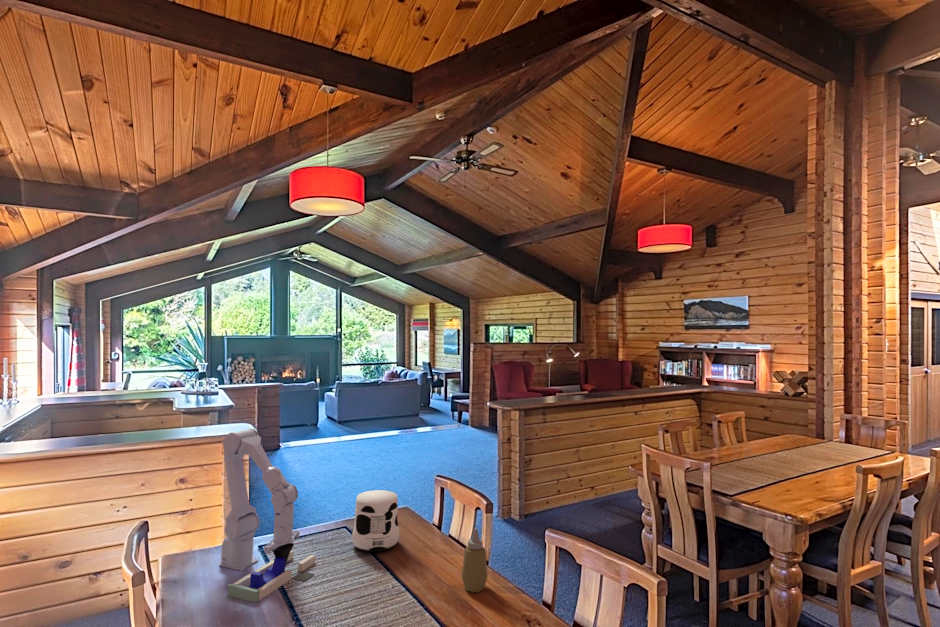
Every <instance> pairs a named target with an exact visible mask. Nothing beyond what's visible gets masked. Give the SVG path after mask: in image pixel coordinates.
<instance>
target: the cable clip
mask: <svg viewBox="0 0 940 627" xmlns="http://www.w3.org/2000/svg"><path fill="white" fill-rule="evenodd" d="M273 560H274V564H273V566H272V567H270V568H269V569H267V571H266V573H265V574H264V576H263V573H260V572H255V571H256V570H254V571H252V572H253V573H252V572H250V573H251V579H250V585H249V588H254V589H259V588H260V587H262V586H264V585H265V584H267V583H268V582H270V581H271V580H273V579H274V578H276V577H278V576H279V575H281V574H282V573H284V572H285V571H286V566H285V558H281V557H276V558H275V557H274V558H273Z"/></svg>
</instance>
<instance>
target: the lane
mask: <svg viewBox="0 0 940 627" xmlns="http://www.w3.org/2000/svg"><path fill="white" fill-rule="evenodd" d="M293 559H294V550H291V552H290V554H289V556H288V559H287V563H288V562H290V561H291V560H293ZM315 563H316V555H315V554H310V555H309V556H307V557H305V558H304V559H302V560H301V561H299V562H298V563H297V571H298V572H299V573H300V572H301V571H303V572H305V570H306V569H308V568H310V567H311V566H313V565H315ZM273 564H274V559H273V560H271V561H269V562H267V563H266V564H263V565H262V566H261V567H260V568H257V569H255V570H254V571H255V572H260V573H263V576H264V574H265V573H266V571H267V569H269V568H270V567H272V566H273ZM254 571H252V572H250V573H249V574H247V575H245V576H244V577H242V578H241V579H238V580H237V581H235V582H234V583H232V582H231V583H229V584H228V585H227V595H226V596H228V597H232V598H237V599H239V600H244V601H248V602H252V603H258V602H259V601H261V600H263V599H264V598H265V597H267V596H268V595H269V594H271V593H272V592H274V591H275V590H277V589H279V588H280V587H281V586H283V585H284V584H286V583H287V582H289V581H290V580H292V579H291V578H292V577H293V574H292V573H293V571H292V570H291V569H287V570H285V572H284V573H282V574H281V575H279V576H278V577H276V578H274V579H273V580H271V581H270V582H268V583H267V584H265V585H264V586H262V587H260V588H259V589H254V588H250V579H251V573H253V572H254Z"/></svg>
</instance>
